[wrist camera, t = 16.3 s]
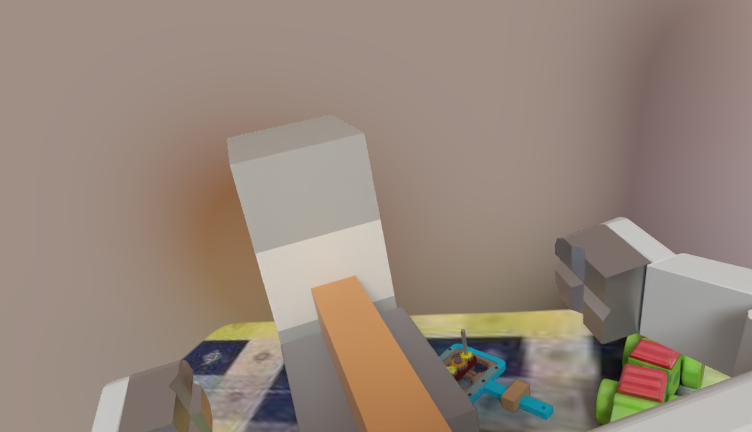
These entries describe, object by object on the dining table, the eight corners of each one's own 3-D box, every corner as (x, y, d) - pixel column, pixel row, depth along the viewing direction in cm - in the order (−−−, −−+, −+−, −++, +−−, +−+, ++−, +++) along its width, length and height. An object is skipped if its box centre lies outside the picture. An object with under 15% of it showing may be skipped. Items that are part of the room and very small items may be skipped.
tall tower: (315, 463, 46) (229, 165, 37) (296, 383, 57) (226, 138, 47) (418, 424, 48) (364, 133, 39) (381, 355, 59) (331, 114, 50)
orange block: (411, 570, 22) (396, 502, 20) (321, 333, 40) (310, 288, 39) (485, 538, 23) (475, 470, 21) (364, 319, 41) (355, 275, 39)
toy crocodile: (670, 502, 37) (672, 437, 35) (576, 466, 42) (573, 406, 39) (712, 349, 51) (716, 296, 49) (639, 333, 55) (639, 283, 53)
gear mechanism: (519, 459, 44) (570, 394, 49) (513, 409, 42) (567, 347, 47) (358, 376, 58) (413, 332, 63) (349, 335, 56) (406, 294, 62)
